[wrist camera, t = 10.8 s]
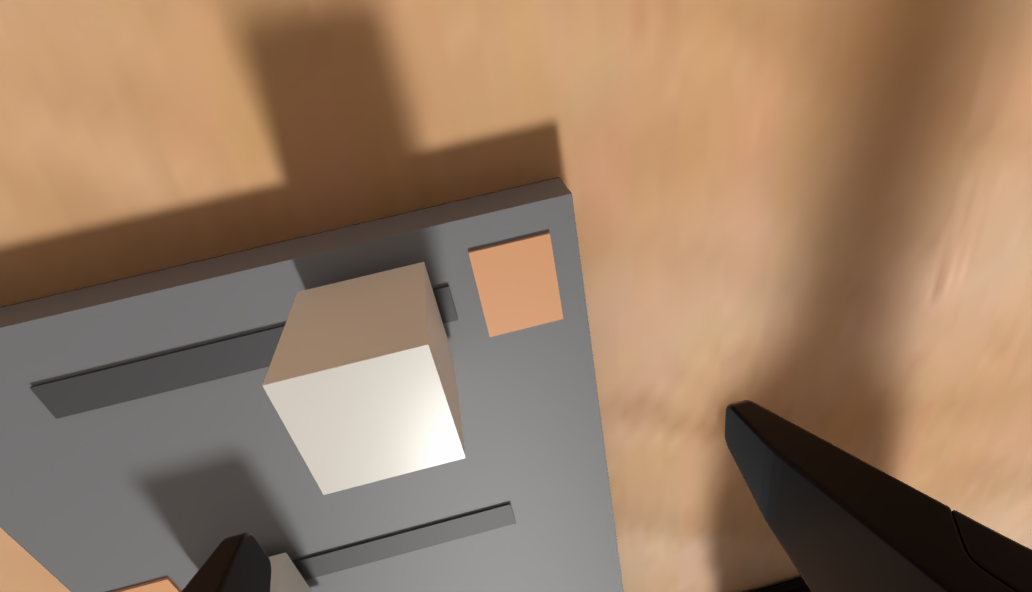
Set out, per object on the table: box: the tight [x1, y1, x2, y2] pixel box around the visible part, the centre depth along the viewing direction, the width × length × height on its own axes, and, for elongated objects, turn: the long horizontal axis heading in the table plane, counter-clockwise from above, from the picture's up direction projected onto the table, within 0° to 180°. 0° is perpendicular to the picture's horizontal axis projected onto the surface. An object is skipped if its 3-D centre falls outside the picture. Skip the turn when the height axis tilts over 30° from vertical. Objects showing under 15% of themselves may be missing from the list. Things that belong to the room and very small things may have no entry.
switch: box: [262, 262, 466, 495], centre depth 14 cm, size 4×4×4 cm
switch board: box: [0, 178, 623, 592], centre depth 21 cm, size 20×25×2 cm
